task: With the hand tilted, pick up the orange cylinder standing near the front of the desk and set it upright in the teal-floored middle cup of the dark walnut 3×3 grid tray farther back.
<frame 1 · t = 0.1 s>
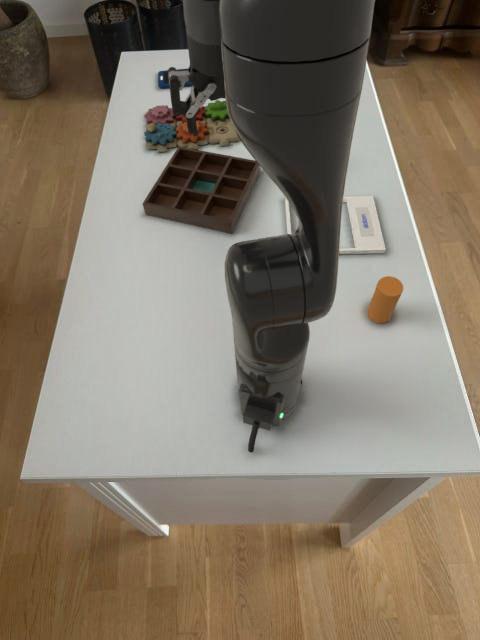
hand: (221, 128, 69), 22 cm above the table, tool pointing down, fingers open, 8 cm apart
cell phone: (184, 79, 118), on the table
photo frame: (332, 226, 88), on the table
gear puzzle: (209, 127, 107), on the table
orange cylinder: (378, 313, 76), on the table
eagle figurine: (300, 173, 97), on the table
grid: (204, 193, 94), on the table
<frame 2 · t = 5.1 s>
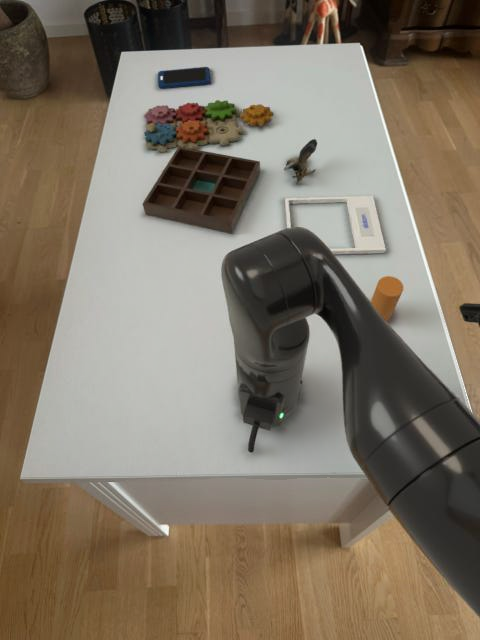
nothing on the table moved.
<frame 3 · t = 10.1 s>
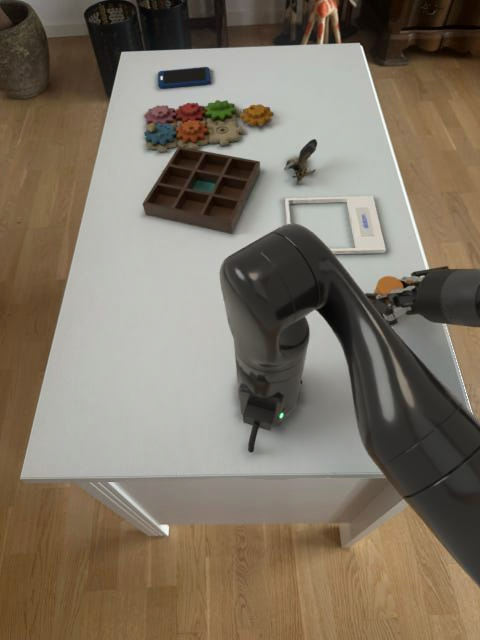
hand: (376, 292, 74), 4 cm above the table, tool tilted 45°, fingers closed on orange cylinder, 4 cm apart
orange cylinder: (379, 313, 76), on the table, touching gripper
everything else where it was.
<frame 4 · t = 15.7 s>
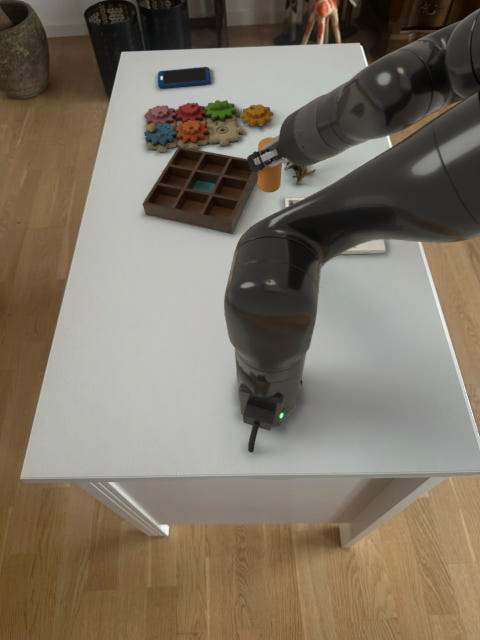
hand: (262, 159, 75), 16 cm above the table, tool tilted 45°, fingers closed on orange cylinder, 4 cm apart
orange cylinder: (268, 184, 77), point 12 cm above the table, touching gripper
everything else where it was.
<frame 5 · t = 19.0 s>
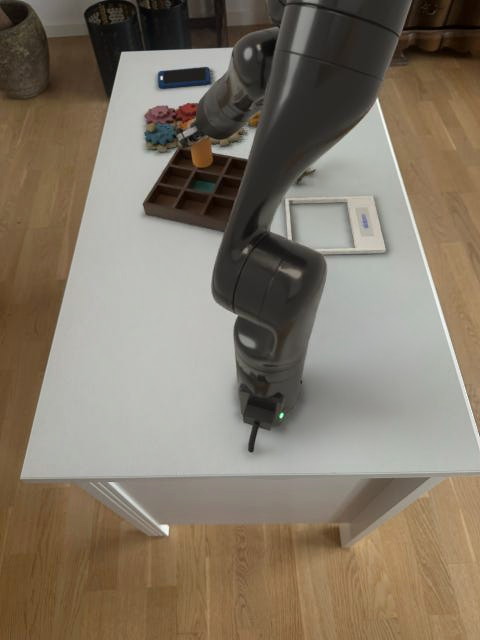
hand: (194, 138, 85), 12 cm above the table, tool tilted 45°, fingers closed on orange cylinder, 4 cm apart
orange cylinder: (202, 161, 88), point 8 cm above the table, touching gripper
everything else where it was.
when the fingers open (5 cm above the table, at t = 21.4 s): orange cylinder stays where it is, resting on grid.
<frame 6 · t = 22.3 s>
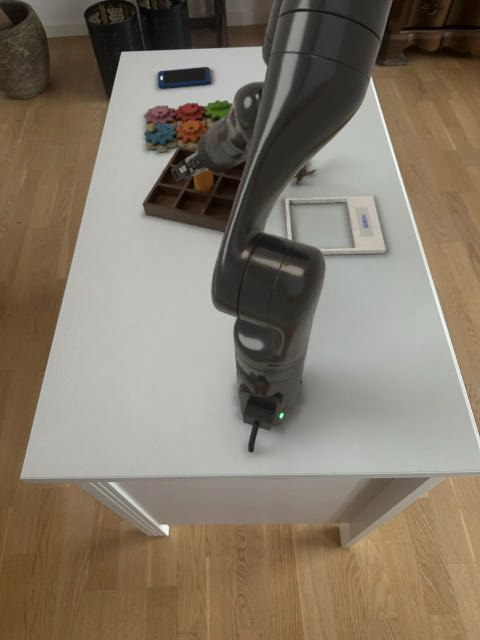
hand: (196, 166, 89), 6 cm above the table, tool tilted 45°, fingers open, 8 cm apart
orange cylinder: (205, 190, 94), point 1 cm above the table, touching grid
everything else where it was.
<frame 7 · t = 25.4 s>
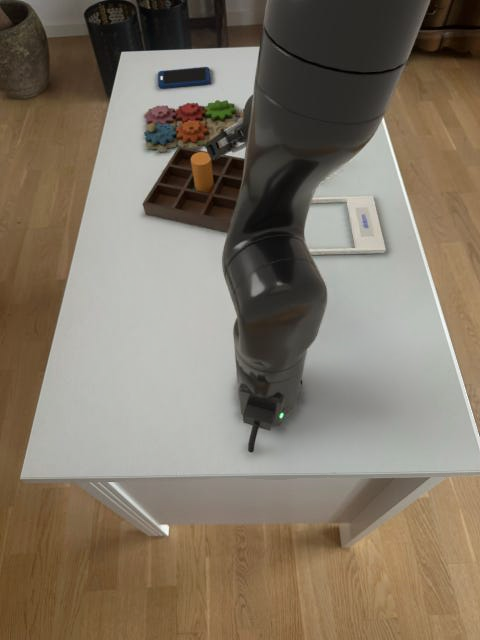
hand: (233, 143, 72), 19 cm above the table, tool tilted 45°, fingers open, 8 cm apart
nothing on the table moved.
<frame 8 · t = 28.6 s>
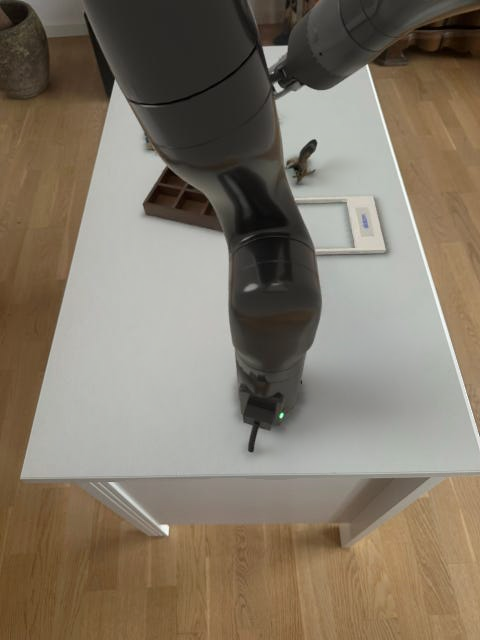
hand: (268, 95, 59), 31 cm above the table, tool tilted 45°, fingers open, 8 cm apart
nothing on the table moved.
at the end: orange cylinder 0.2 cm off-centre in the grid, point 0.7 cm above the grid's base; orange cylinder tilted 0°; the gripper is holding nothing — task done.
